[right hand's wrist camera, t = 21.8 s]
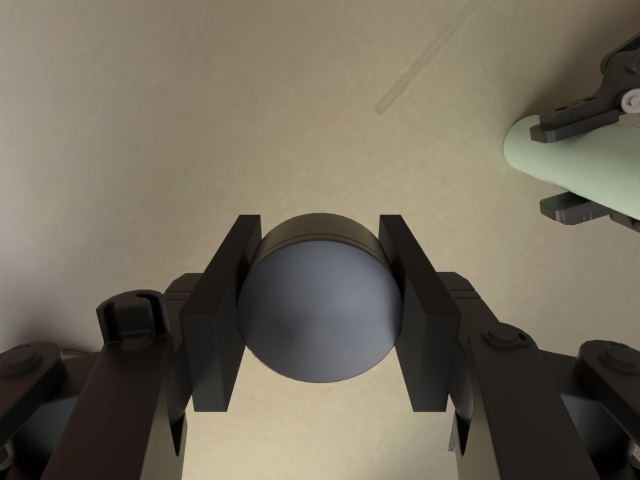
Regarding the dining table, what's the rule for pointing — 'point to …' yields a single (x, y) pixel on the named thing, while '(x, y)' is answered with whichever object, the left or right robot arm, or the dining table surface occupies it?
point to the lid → (320, 300)
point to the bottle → (583, 163)
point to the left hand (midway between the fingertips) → (543, 174)
